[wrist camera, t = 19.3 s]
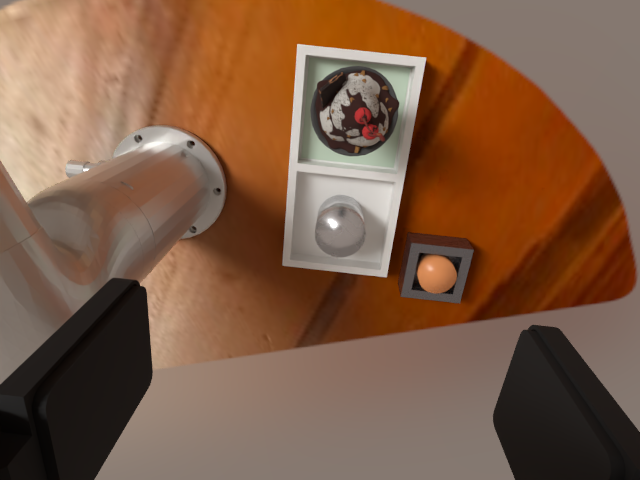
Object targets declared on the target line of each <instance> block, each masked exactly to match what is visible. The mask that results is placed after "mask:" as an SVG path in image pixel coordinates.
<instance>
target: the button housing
mask: <svg viewBox="0 0 640 480" xmlns="http://www.w3.org/2000/svg"><path fill="white" fill-rule="evenodd" d="M473 252H474V249H473V248H472V246H471V245H470V243H469V241H468V240H467V239H465V238H456V237H447V236H438V235H429V234H420V233H411V232H408V234H407V239H406V244H405V249H404V254H403V260H402V265H401V270H400V275H399V280H398V286H399V291H400V295H401V297H408V298H417V299H426V300H435V301H444V302H453V303H460V301H461V297H462V293H463V289H464V286H465V282H466V278H467V274H468V270H469V267H470V263H471V259H472V255H473ZM425 253H428V254H437V255H446V256H448V257H449V258H450V260H451V262H452V264H453V266H454V268H455V270H456V273H457V279H456V282H455V284H454V285H453V286H452V287H451V288H450V289H449V290H447V291H446V292H443V293H437V294H436V293H430V292H427V291H426V290H424V289H423V288H422V287H421V285H420V283H419V280H418V277H417V273H416V265H417V261H418V259H419V258H420V257H421V256H422V255H423V254H425Z"/></svg>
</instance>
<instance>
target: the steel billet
mask: <svg viewBox="0 0 640 480" xmlns="http://www.w3.org/2000/svg"><path fill="white" fill-rule="evenodd" d="M365 236H366V232H365V223H364V214H363V210H362V207H361V205H360V204H359V203H358V202H357V201H356V200H355V199H353V198H352V197H350V196H346V195H335V196H332V197H330V198H328V199H326V200H325V201H324V202H323V203H322V205H321V206H320V208H319V211H318V216H317V222H316V227H315V240H316V243H317V245H318V246H319V248H320V249H321V250H322V251H323V252H325V253H326V254H328V255H330V256H333V257H347V256H350V255H353V254H354V253H356V252H357V251H358V250H359V249H360V248H361V247H362V245H363V243H364V241H365Z"/></svg>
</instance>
